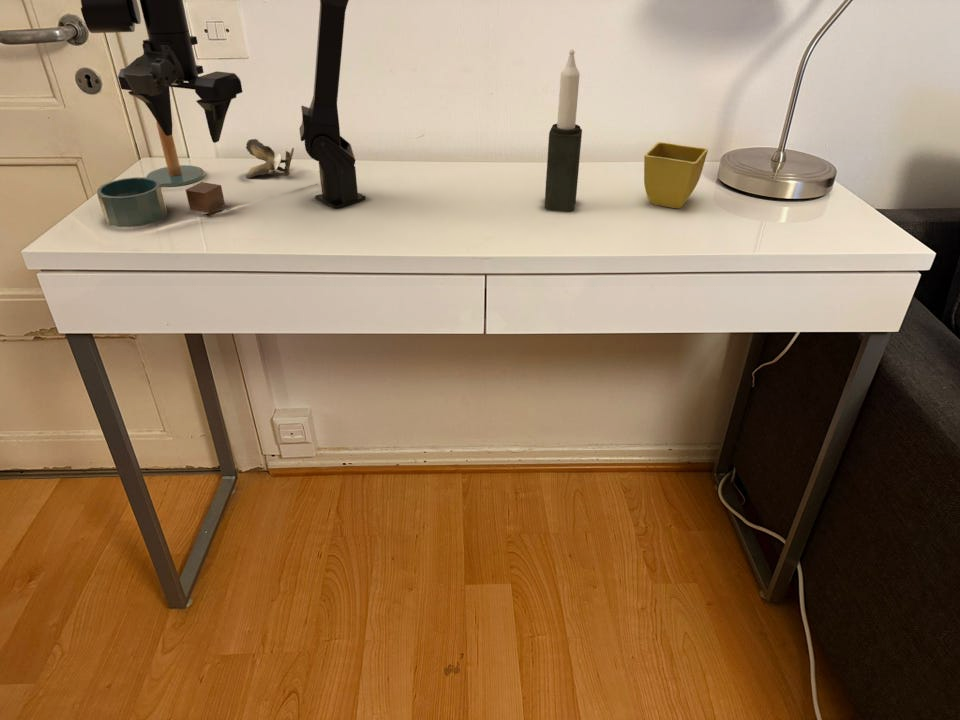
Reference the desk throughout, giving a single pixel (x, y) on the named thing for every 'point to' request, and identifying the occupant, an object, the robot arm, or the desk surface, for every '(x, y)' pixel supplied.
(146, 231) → the desk surface
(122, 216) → the pot
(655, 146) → the flower pot
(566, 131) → the candle
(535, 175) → the desk surface
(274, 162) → the eagle figurine
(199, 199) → the block
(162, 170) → the lid
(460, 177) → the desk surface
